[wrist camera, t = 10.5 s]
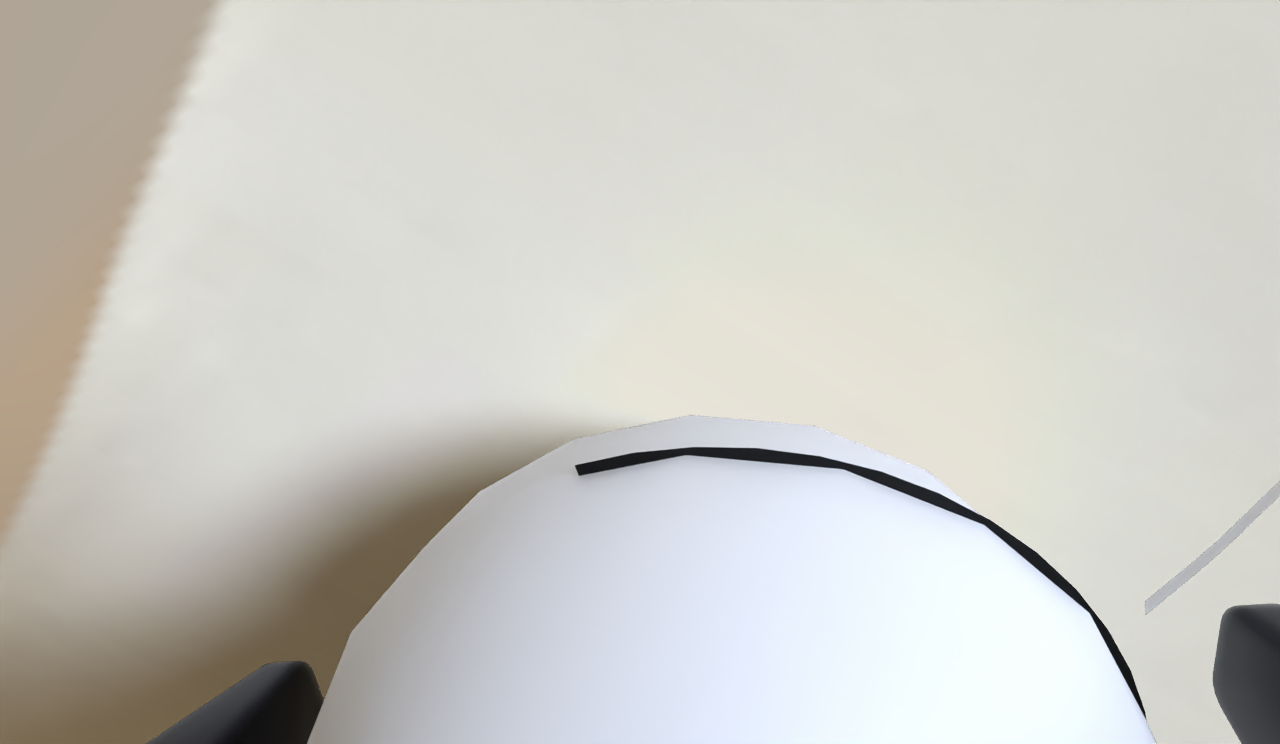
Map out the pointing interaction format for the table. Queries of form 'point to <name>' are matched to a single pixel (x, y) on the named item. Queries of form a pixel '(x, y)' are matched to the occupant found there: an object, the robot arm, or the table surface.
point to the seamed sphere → (732, 608)
